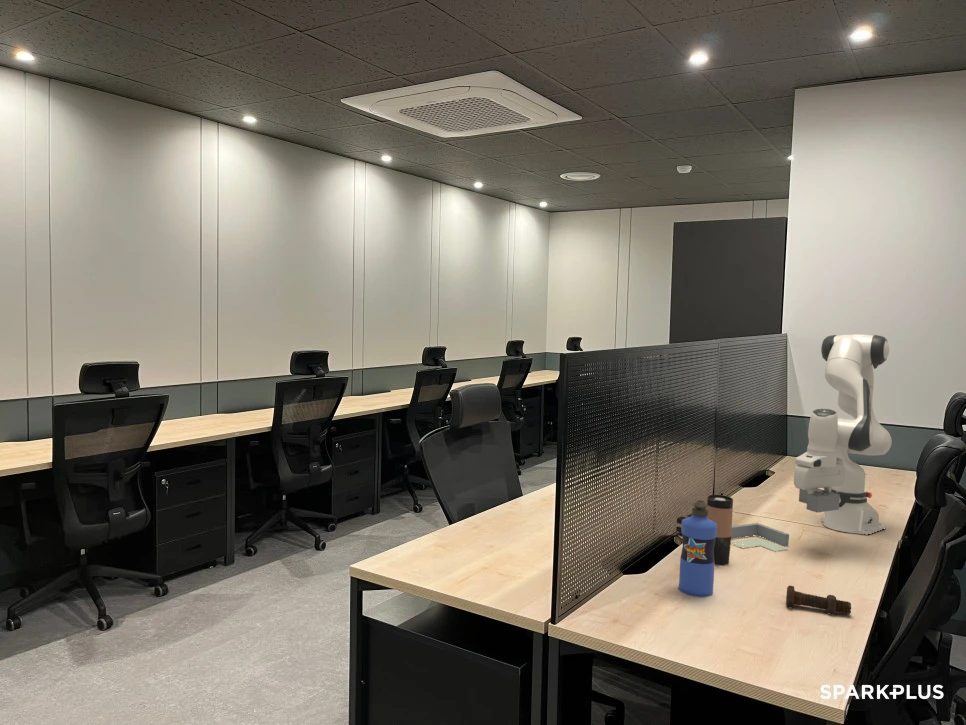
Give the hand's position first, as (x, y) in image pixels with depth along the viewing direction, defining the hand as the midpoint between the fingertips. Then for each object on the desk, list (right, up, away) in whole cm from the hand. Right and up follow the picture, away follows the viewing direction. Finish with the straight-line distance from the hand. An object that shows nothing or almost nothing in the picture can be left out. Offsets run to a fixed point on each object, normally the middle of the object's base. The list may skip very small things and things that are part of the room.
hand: (818, 500), depth 226 cm
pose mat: (-18, -16, +4) cm, 25 cm away
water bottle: (-52, -18, -36) cm, 65 cm away
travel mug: (-38, -17, -12) cm, 43 cm away
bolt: (-23, -20, -47) cm, 56 cm away
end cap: (-37, -15, +14) cm, 43 cm away
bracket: (-3, -2, -1) cm, 3 cm away
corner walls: (-18, -16, +8) cm, 26 cm away
